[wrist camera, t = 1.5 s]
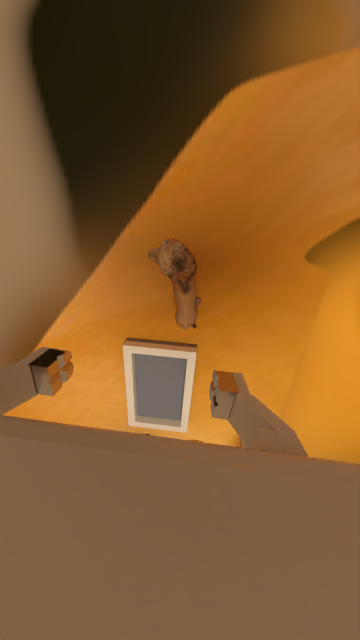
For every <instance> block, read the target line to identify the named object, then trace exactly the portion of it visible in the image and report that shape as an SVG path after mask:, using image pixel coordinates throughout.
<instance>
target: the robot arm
mask: <svg viewBox="0 0 360 640" xmlns="http://www.w3.org/2000/svg"><path fill="white" fill-rule="evenodd" d="M71 358H72V354H71V352H70V351H66V350H59V349H53V348H52V349H51V348H45V347H42V348H39V349H38V350H36V351H35V352H33V353H32V354H30V355H29V356H27V357H26V358H25V359H23V360H22V361H20V362H19V363H17V364H11V365H8V366H4V367H2V368H0V640H360V464H357V463H349V462H343V461H335V460H328V459H321V458H313V457H308V455H307V453H306V451H305V450H304V448H303V446H302V444H301V442H300V440H299V439H298V437H297V435H296V433H295V431H294V430H292V429H291V428H290V427H289V426H288V425H287V424H286V423H285V422H283V421H282V420H281V419H280V418H279V417H278V416H276V415H275V414H274V413H273V412H272V411H271V410H269V409H268V408H267V407H266V406H265V405H264V404H263V403H261V402H260V401H259V400H258V399H257V398H256V397H254V396H253V395H250V393H249V390H248V388H247V385H246V382H245V380H244V377H243V375H242V374H241V373H235V372H224V371H216V370H214V372H213V381H212V382H211V385H210V400H211V401H212V403H211V412H212V417H214V418H220V419H226V420H228V421H229V422H230V424H231V425H232V427H233V428H234V429H235V431H236V432H237V434H238V435H239V436H240V438H241V439H242V441H243V442H244V443H245V445H246V446H247V448H248V449H247V448H240V447H232V446H225V445H218V444H210V443H203V442H195V441H188V440H180V439H173V438H166V437H159V436H151V435H144V434H137V433H129V432H122V431H115V430H107V429H100V428H93V427H85V426H78V425H70V424H63V423H56V422H48V421H41V420H34V419H26V418H19V417H11V416H4V415H3V414H5V413H6V412H8V411H10V410H12V409H13V408H15V407H17V406H19V405H21V404H22V403H24V402H26V401H28V400H29V399H31V398H33V397H35V396H36V395H37V394H40V395H50V396H54V395H55V394H56V393H57V392H58V391H59V390H60V388H61V387H62V383H64V382H66V381H68V379H69V378H70V377H71V375H72V373H73V363H72V362H71V361H70V360H71Z"/></svg>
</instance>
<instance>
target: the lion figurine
mask: <svg viewBox="0 0 360 640" xmlns="http://www.w3.org/2000/svg"><path fill="white" fill-rule="evenodd" d="M147 257H148V258H149V259H151V260H152V261H156V263H157V265H159V266H160V269H161V273H164V274H165V275H167V276H168V277H169V278H170V279H171V281H172V282H173V287H174V295H175V298H176V302H177V305H178V310H177V311H176V316H175V319H176V322H177V324H178V325H179V326H182V327H183V329H184V330H187V329H188V327H189V326H192V327H194V328H197V327H196V325H195V324H194V322H195V321H196V318H197V314H198V305H199V304H200V302H201V299H200V298H199V297H196V298H195V293H196V284H195V279H194V277H195V272H196V269H197V266H196V262H195V258H194V257H193V255H192V254H191V252H190V251H189V250H188V248H187V247H185V246H184V244H180V243H179V242H178V241H177V240H174V239H172V240H169V239H165V240H164V241H163V242H162V246H161V247H159V248H158V249H151V250H150V251H149V252H148V254H147Z"/></svg>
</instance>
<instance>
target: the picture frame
mask: <svg viewBox="0 0 360 640" xmlns="http://www.w3.org/2000/svg"><path fill="white" fill-rule="evenodd" d="M196 354H197V345H192V344H182V343H172V342H162V341H152V340H142V339H132V338H127V340H126V341H125V343H124V344H123V355H124V368H125V382H126V395H127V408H128V422H129V426H136V427H144V428H152V429H161V430H169V431H177V432H185V433H187V428H188V420H189V412H190V404H191V395H192V387H193V379H194V371H195V363H196Z"/></svg>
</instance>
